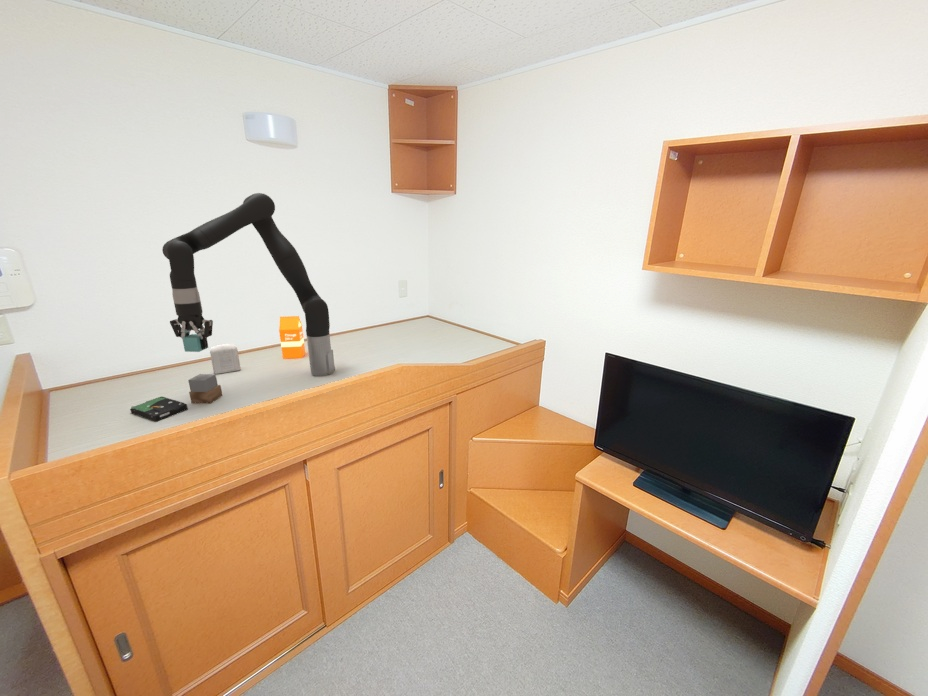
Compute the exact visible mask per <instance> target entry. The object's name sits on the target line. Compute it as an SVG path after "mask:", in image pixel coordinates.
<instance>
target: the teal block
mask: <svg viewBox="0 0 928 696" xmlns="http://www.w3.org/2000/svg"><path fill="white" fill-rule="evenodd" d="M181 339H182V343H183V349H184V352H187V353H189V352H190V353H191V352H193V353H200V352H202V351H204V350H207V349H209V346H208V347H207V348H206V349H201V344H200V338H199V336H198V334H196V333H190V335H188V336H186V337H183V338H181Z"/></svg>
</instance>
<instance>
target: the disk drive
mask: <svg viewBox="0 0 928 696" xmlns="http://www.w3.org/2000/svg"><path fill="white" fill-rule="evenodd" d="M185 411H188V404H187V403H185V402H181V401H179V400H174V399H172V398H168V397H165V396H158V397H156V398H153V399H150V400H146V401H145V402H143V403H139V404H137V405H135V406H133V405H132V406H131V408H130V413H131V414H133V415H135V416H138V417H141V418H144V419H146V420H149V421H152V422H155V423H157V422H160V421H162V420H165V419H168V418H169V417H173V416H175V415H177V413H178V414H180V413H183V412H185ZM172 415H173V416H172Z"/></svg>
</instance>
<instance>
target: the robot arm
mask: <svg viewBox="0 0 928 696" xmlns="http://www.w3.org/2000/svg"><path fill="white" fill-rule="evenodd" d="M275 211H276V205H275V202H274V200H273V199H272V198H271V196H269V195H267V194H266V193H261V192H257V193H252V194H251V195H249V196H247V197H245V198H244V199H243V202H242V204H241V205H238V206H237V207H235V209H232V210H230V211H229V212H227V213H225V214H222V215H220V216H218V217H215V218H214V219H213V218H212V219H211V220H208V221H206V222H205V223H203V224H201V225H198V226H197V227H195V228H193V229H191V231H188V232H186V233H184V234H182V235H178V236H176V237H174V238H172V239H170V240H167V241H166V242H165V243H164V244H163V246H162V249H161V250H162V254H163V256H164V257H165V258H166V259H167V260H168V262H169V267H170V272H169V279H170V284H171V290H172V300H173V304H174V305H173V306H174V309H175V314H176V316H177V318H176V319H172V320H170V321H169V324H170V327H171V328H172V331H173V333H174V335H175V337H177V338H180V339H182V338H183V337H186V336H188V335H191V331H194V334H198V336H199V338H200V344H201V349H204V350H207V349H208V348H209V344H208V338H209V337H211V336H213V325H214V324H213V323H214V321H213V320H212V319H205V318H204V316H203V307H202V301H201V297H200V296H201V295H200V292H199V289H198V285H197V279H196V275H195V257H194V254H196V253H199V251H204V250H207V249H209V248H211V247H213V246H214V245H216V244H218V243H220V242H222V241H223V240H225V239H226V238H228V237H230V236H231V235H233V234H234V233H236V232H238V231H240V230H241V229H243V228H245V227H247V226H249V225H252V226H253V227H254V229H255V230H256V232H257V233H258V235H260V238H261V239H262V241H263V244H264V245H265V247H266V248H267V250H268V252H269V254H270V255H271V257H272V260H273V261H274V263H275V265H276V267H277V268H278V270H279V271H280V273H281V275H282V276H283V277H284V279H285V280H286V281H287V283H288V284H289V286H290V287H291V288H292V290H293V291H294V293H295V295H296V298H298V301H299V304H300V306H301V308H302V311H303V312H304V318H305V336H306V340H307V350H308V360H309V367H310V368H309V369H310V374H311V376H316V377H320V376H321V377H323V376H330V375H332V374H333V373H334V372H335V370H336V368H335V359H334V356H335V355H334V350H333V349H332V346H331V345H332V344H331V336H330V334H331V333H330V329H331V328H330V326H331V323H330V315H329V314H330V313H329V306H328V304H327V302H326V301H325V300H324V299H322V297H321V296H320V295H319V294H318V292H317V291H316V289H315V288H314V285H313V284H312V283H311V280H310V278H309V274H308V272H307V269H306V267H305V265H304V263H303V260H302V259H301V256H300V255H299V252H298V251H297V249H296V248H295V246H294V245H293V244H292V243H291V242H290V241H289V239H288V238H287V237H286V236H285V235H284V234H283V233H282V231H280V229H279V228H278V226H277V224H276V222H275V221H274V219H273V215H274V214H275ZM207 347H208V348H207ZM206 348H207V349H206Z"/></svg>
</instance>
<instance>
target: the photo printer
mask: <svg viewBox="0 0 928 696" xmlns="http://www.w3.org/2000/svg"><path fill="white" fill-rule="evenodd" d="M209 351H210V352H209V354H210V357H211V358H210V359H211V365H212V371H213V374H216V375H219V374H223V373H230V372H237V371H241V362H240V359H239V358H240V357H239V350H238V348H237V345H236V344H234V343H222V344H218V345H217V344H216V345H214V346H212V347H210V350H209Z"/></svg>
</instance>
